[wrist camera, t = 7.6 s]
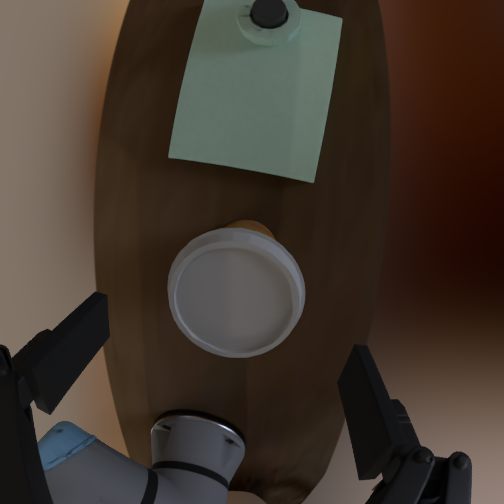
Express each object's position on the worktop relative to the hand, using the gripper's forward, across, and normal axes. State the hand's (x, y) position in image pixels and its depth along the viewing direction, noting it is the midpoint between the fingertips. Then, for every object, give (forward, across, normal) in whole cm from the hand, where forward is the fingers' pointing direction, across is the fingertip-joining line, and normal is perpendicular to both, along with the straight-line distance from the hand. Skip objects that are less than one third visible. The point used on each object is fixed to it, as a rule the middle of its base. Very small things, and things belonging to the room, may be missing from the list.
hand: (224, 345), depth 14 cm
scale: (+17, +2, -17) cm, 24 cm away
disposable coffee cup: (+17, 0, 0) cm, 17 cm away
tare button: (+14, +2, -23) cm, 27 cm away
